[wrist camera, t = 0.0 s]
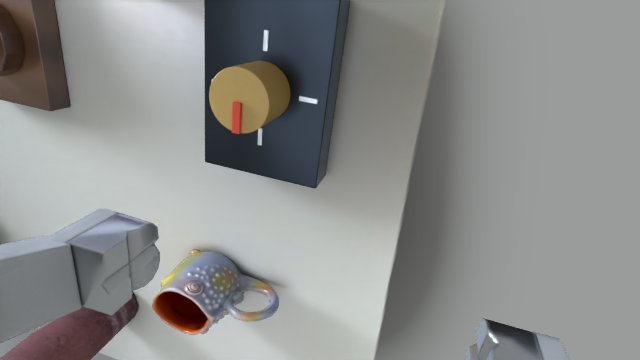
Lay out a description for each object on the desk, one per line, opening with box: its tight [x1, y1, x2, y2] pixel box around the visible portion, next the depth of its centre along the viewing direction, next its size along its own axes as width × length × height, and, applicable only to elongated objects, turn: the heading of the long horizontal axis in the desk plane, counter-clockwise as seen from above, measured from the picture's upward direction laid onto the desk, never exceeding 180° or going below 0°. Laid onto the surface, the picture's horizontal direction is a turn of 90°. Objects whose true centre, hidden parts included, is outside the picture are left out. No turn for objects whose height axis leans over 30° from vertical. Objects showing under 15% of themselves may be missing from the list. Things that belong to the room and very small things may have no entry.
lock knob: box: [209, 61, 290, 134], centre depth 27 cm, size 4×4×4 cm
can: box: [0, 294, 137, 360], centre depth 42 cm, size 6×6×14 cm
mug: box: [152, 250, 279, 335], centre depth 38 cm, size 12×7×7 cm, turn 89°
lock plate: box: [205, 0, 350, 188], centre depth 30 cm, size 14×10×3 cm
